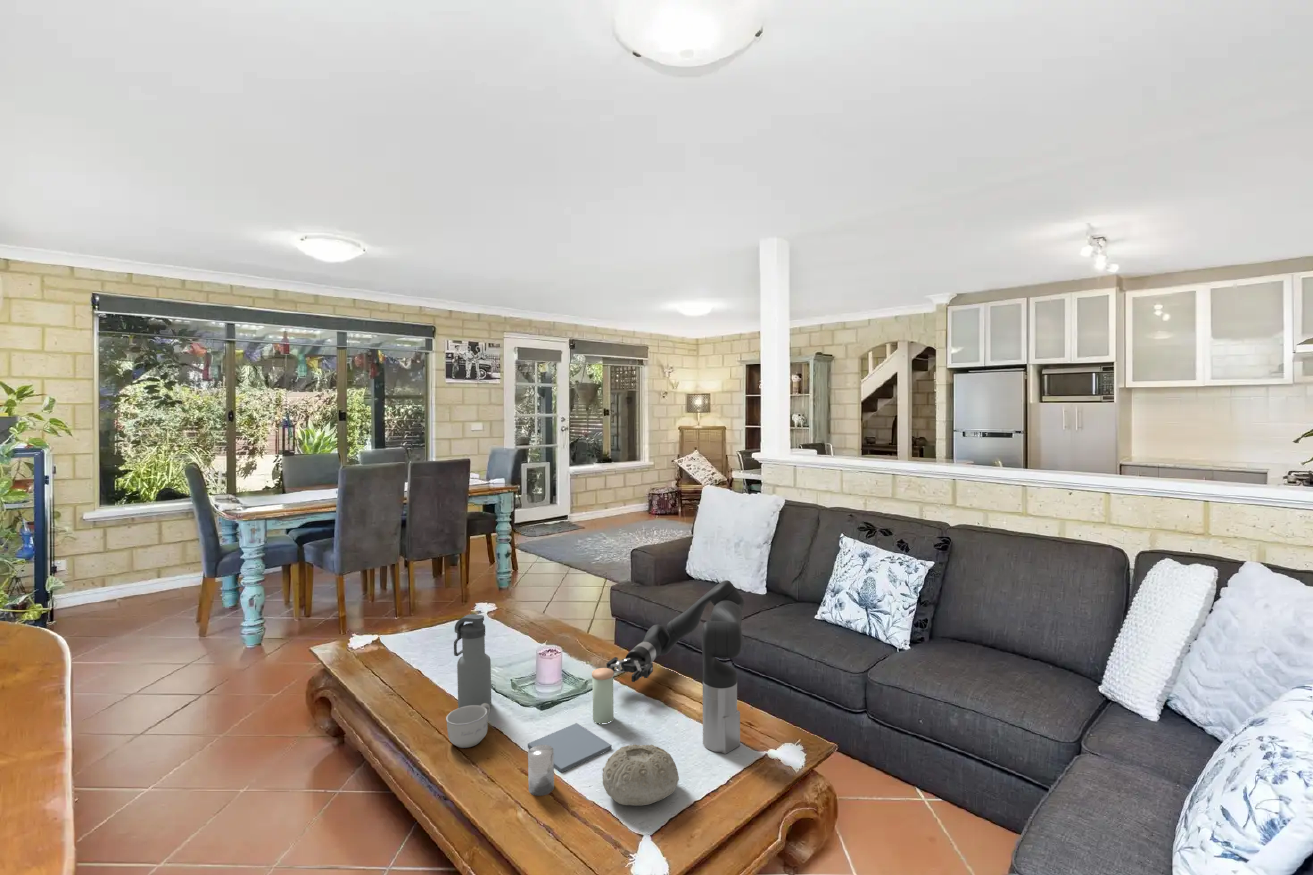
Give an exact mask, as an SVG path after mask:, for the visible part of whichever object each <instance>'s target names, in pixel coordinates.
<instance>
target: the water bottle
mask: <svg viewBox="0 0 1313 875" xmlns="http://www.w3.org/2000/svg"><path fill="white" fill-rule="evenodd" d="M484 621H485V615H482V614H471V613H470V614H467V615H465V616H463V617H462V618H460V619H459V620H457V621H456V622H455V625H454V633H455V634H456V639H454V641H453V655H454V656H455V657H458V656H460V655H461V657H459V658H458V660H457V664H456V667H457V668H456V669H457V670H456V673H457V674H456V675H457V709H458V708H461V707H465V706H470V705H478V706H481V705H482V704H483V703H487V704H489V706H490V707H491V705H492V669H491V666H492V664H491V661H492V660H491V658H490V655H488V654H487V653H486V643H485V638H486V637H485V636H486V625H485V623H484ZM461 639H462V640H461ZM460 640H461V641H462V642H461V643H462V644H461V645H462V649H461V650H460V651H459V652H458V649H457V648H458V647H457V645H458V642H459V641H460Z"/></svg>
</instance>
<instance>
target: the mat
mask: <svg viewBox="0 0 1313 875" xmlns="http://www.w3.org/2000/svg"><path fill="white" fill-rule="evenodd" d="M537 745H549V746H551V747H552V748H553V751H554V769H556V771H558V772H560V773H563V772H565V771H567V770H570V769H572V768H573V767H576V766H578V765H581V764H582V763H585V762H587V761H589V760H591V759H593V758H595V757H597V756H600V755H601V753H602V754H603V752H604V753H605V752H607V751H610V750H612V744H611V743H609V742H608V741H606V740H604V738H601V737H600V736H598V735H597V734H595V733H593V732H592V731H590V730H588V729H587V728H585V727H584V726H582V725H580V724H579V723H577V722H575V723H574V724H571V725H569V726H565V727H563V728H562V729H559V730H557V731H554V732H552V733H549V734H548V735H544V736H542V737H540V738H537V739H535V740H533V741H531V742H528V743H527V748H528V749H529V750H530V749H531V748H532V747H534V746H537Z"/></svg>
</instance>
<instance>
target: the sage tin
mask: <svg viewBox="0 0 1313 875" xmlns="http://www.w3.org/2000/svg"><path fill="white" fill-rule="evenodd" d="M614 674H615V673H614V671H613V670H612V669H609V668H607V667H600V668H596V669H594V670H592V672H591V678H592V682H591V683H592V721H593V720H594V722H596V723H600V724H602V723H608V722H610V721H612V720H613V718H614V714H615V713H614ZM614 719H615V718H614ZM613 721H614V720H613ZM613 721H612V722H613ZM594 722H593V723H594ZM596 723H595V724H596ZM600 724H599V725H600Z"/></svg>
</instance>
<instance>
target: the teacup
mask: <svg viewBox="0 0 1313 875" xmlns="http://www.w3.org/2000/svg"><path fill="white" fill-rule="evenodd" d="M490 713H491V705H490V706H489V704H487V703H483V704H482V705H481V706H478V705H470V706H465V707H461V708H458V707H457V708H456V709H454V710H451V711H450V712H449V713H448V714H447V715H446V718H445V721H446V731H447V737H448V739H449V742H450V743H452V745H454V746H456V747H458V748H461V749H464V748H465V749H466V748H471V747H474V746H477V745H478V744H479V743H481V742H482V740H483V739H484V738H485V737H486V735H487V733H488V727H489V726H488V717H489V715H490Z"/></svg>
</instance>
